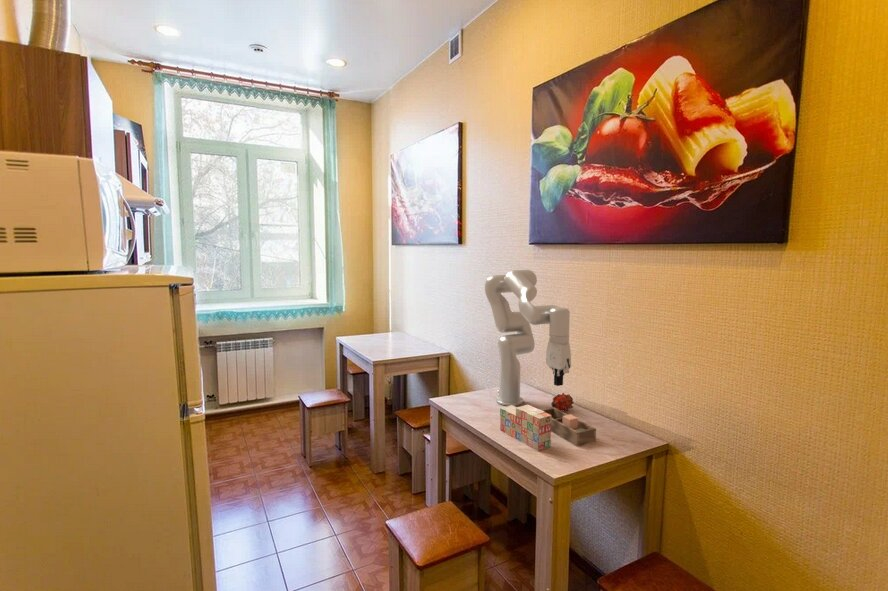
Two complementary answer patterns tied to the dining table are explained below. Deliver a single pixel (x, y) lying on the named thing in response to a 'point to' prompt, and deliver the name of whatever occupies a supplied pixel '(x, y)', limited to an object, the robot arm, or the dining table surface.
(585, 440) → the box
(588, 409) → the dining table surface
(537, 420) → the stack of blocks
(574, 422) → the terracotta block
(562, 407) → the dragon fruit
